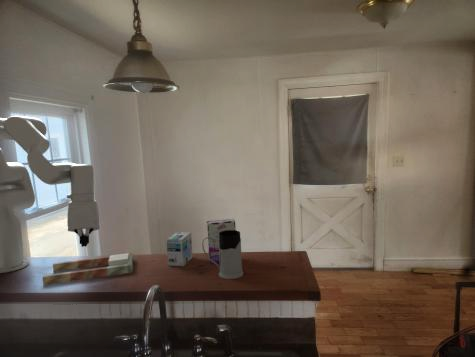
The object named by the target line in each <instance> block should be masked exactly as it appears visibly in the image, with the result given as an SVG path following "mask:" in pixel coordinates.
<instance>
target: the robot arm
mask: <svg viewBox="0 0 475 357" xmlns="http://www.w3.org/2000/svg"><path fill="white" fill-rule="evenodd" d="M47 130H48V129H47V126H46V123H44V121H42V120H41V119H39V117H37V118H36V117H31V116H21V115H14V116H13V115H12V116H9V117H7V118H2V117H0V140H7V141H8V140H9V141H10V140H11V141H14V142H16V143H17V144H18V146H20V147H21V148H22V149H23V151H24V152H25V153H26V154H27V157H26V160H27V165H28V168H29V170H30V171H31V172H32V173H33V175H34V176H36V178H38V179H39V180H40V181H41V182H43V183H44V184H46V185H48V186H54V185H61V184H69V183H70V194H67V195H66V198H67V199H70V201H69V202H68V207H67V232H72V233H75V234H76V235H77V236H78V237H79V245H81V247H82V248H84V247H87V246H88V245H89V244H90V235H91V233H93V232H94V231H98V230H100V228H101V227H100V218H99V217H100V216H99V215H100V214H99V207H98V202H97V200H96V199H95V185H94V184H95V182H94V181H95V178H94V175H95V174H94V166H93V165H92V164H87V163H74V162H59V163H58V162H57V163H52V162H50V161H49V160H48V159H47V158H46V157H45V156H44V154H45V153H46V152H47V151H48V150H49V148H50V144H51V143H50V141H49V139H48V138H47V137H45V136H46V134H47ZM8 186H10V187H11V188H6V189H5V188H4V189H0V274H5V273H10V272H15V271H18V270H22V269H24V268H26V267H28V266H29V264H30V261H29V260H28V259H27V258H26V259H25V254H24V245H23V244H24V243H23V235H22V228H21V227H22V226H21V224H22V223H21V221H20V219H19V218H18V216H17V215H16V214H15V212H19V211H23V210H28V209H30V208H32V207H33V206H34V204H35V202H36V196H35V195H36V194H35V191H34V187H33V184H32V180H31V176H30V173H29V171H28V169H27V167H25V165H24V164H23V163H19V162H14V161H13V162H7V160H6V157H5V154H4V151H3V150H2V148H1V147H0V188H1V187H8ZM83 230H85V232H84V231H83Z"/></svg>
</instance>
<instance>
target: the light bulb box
mask: <svg viewBox="0 0 475 357" xmlns="http://www.w3.org/2000/svg"><path fill="white" fill-rule="evenodd" d="M192 238H193V237H192V232H186V231H185V232H181V231H180V232H179V231H178V232H177V231H176V232H175V233H173V234H172V235H171V236H169V237H168V238H166V247H167V248H166V249H167V250H166V251H167V266H170V267H171V266H173V267H185V265H186V264H188V262H190V261H191V260H192V259H193V241H192Z"/></svg>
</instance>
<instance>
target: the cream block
mask: <svg viewBox="0 0 475 357" xmlns="http://www.w3.org/2000/svg"><path fill="white" fill-rule="evenodd" d="M129 254H130V253H129V252H127V253H120V254H111V255H109V256H110V258H109V261H108V263H109V265H108V267H110V266H117V265H125V264H128V258H129Z"/></svg>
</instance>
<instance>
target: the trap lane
mask: <svg viewBox="0 0 475 357" xmlns="http://www.w3.org/2000/svg"><path fill="white" fill-rule="evenodd" d="M109 258H110V255H109V256H108V255H107V256H100V257H94V258H93V257H91V258H84V259H77V260H76V259H75V260H69V261H61V262H60V261H59V262H53V264H52V270H53V273H52V274H45V275H42V285H43V286H49V285H57V284H62V283H63V284H64V283H71V282H76V281H84V280H90V279H91V280H92V279H97V278H106V277H112V276H119V275H126V273H127V274H133V268H134V253H133V252H131V253H129V258H128V264H125V265H117V266H110V267H109V263H108V261H109ZM100 266H101V267H100ZM103 266H104V267H103ZM95 267H96V268H95ZM78 268H80V269H82V270H80V269H78ZM71 269H73V270H72V271H70V270H71ZM63 270H65V271H66V272H64V271H63ZM56 271H58V273H57V272H56Z"/></svg>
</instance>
